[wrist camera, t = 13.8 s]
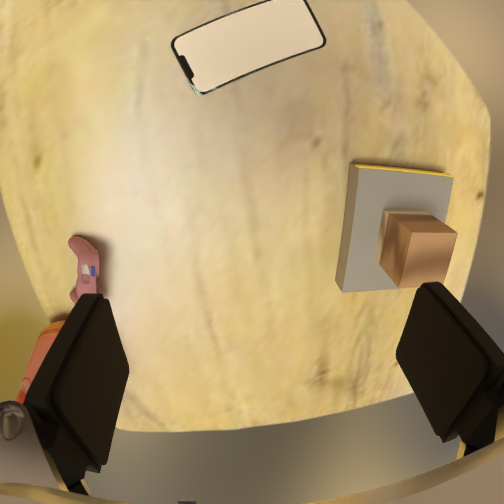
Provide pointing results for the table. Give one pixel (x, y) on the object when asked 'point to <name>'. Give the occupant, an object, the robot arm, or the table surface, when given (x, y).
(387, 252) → the brown wooden block
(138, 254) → the table surface
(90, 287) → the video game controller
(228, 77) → the smartphone
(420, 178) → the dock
